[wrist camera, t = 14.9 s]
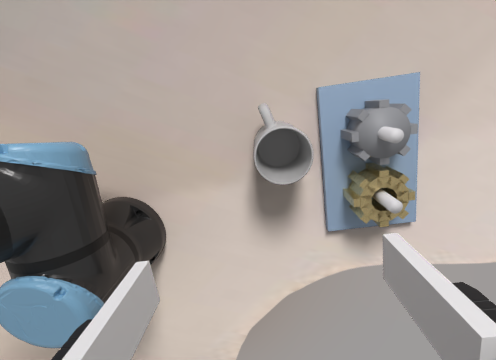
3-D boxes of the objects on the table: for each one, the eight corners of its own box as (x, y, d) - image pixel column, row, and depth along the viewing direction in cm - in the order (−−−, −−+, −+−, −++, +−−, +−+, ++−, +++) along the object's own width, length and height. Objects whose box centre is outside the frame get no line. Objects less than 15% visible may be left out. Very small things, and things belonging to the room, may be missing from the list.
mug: (308, 157, 48) (323, 172, 38) (264, 175, 49) (267, 194, 39) (283, 93, 45) (291, 90, 35) (238, 114, 47) (232, 117, 36)
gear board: (326, 227, 52) (343, 257, 42) (316, 88, 45) (333, 83, 35) (411, 218, 51) (449, 246, 41) (414, 73, 44) (461, 64, 34)
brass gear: (344, 216, 50) (354, 230, 44) (341, 166, 47) (352, 174, 42) (397, 210, 49) (414, 223, 44) (397, 159, 46) (416, 166, 41)
